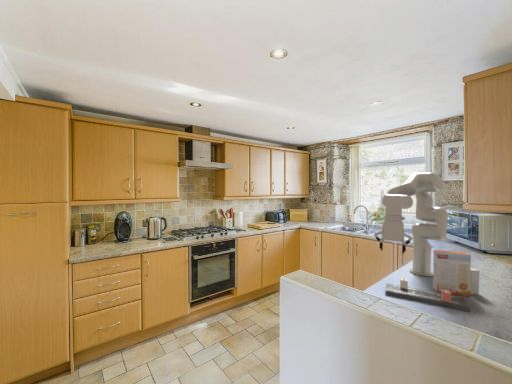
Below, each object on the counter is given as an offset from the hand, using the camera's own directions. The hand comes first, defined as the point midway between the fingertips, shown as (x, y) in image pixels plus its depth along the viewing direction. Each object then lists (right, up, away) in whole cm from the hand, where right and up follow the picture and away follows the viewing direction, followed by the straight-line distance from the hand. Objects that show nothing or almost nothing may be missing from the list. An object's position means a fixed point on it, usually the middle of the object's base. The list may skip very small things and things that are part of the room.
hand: (392, 251), depth 124 cm
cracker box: (+29, -21, -1) cm, 36 cm away
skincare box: (+41, -21, 0) cm, 46 cm away
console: (+10, -20, -8) cm, 24 cm away
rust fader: (+15, -18, -16) cm, 29 cm away
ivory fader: (+5, -18, -2) cm, 19 cm away
